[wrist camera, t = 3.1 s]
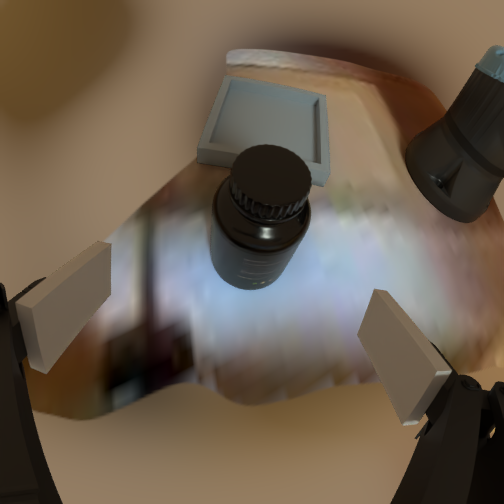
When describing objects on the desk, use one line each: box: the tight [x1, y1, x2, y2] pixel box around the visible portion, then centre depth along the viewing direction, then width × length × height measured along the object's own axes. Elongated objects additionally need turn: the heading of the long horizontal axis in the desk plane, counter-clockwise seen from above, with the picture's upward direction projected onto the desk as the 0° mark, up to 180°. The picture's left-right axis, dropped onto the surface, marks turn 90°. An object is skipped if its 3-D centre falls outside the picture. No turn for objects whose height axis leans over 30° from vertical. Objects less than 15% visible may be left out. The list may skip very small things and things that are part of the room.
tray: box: [197, 75, 330, 187], centre depth 35 cm, size 14×15×2 cm
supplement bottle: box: [211, 144, 312, 290], centre depth 23 cm, size 7×7×12 cm
